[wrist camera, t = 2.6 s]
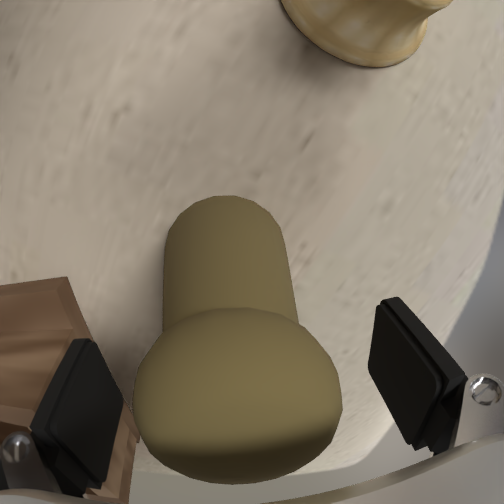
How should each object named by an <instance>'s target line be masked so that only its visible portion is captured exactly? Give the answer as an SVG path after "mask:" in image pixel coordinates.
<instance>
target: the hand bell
mask: <svg viewBox="0 0 504 504" xmlns="http://www.w3.org/2000/svg"><path fill="white" fill-rule="evenodd" d="M281 1H282V3H283V5H284V8H285V10H286V12H287V13H288V15H289V16H290V18H291V20H292V21H293V22H294V24H295V25H296V26H297V27H298V29H299V30H300V31H301V32H302V33H303V34H304V35H305V36H306V37H308V38H309V39H310V40H311V41H312V42H313V43H315V44H316V45H317V46H319V47H320V48H321V49H323V50H324V51H326V52H328V53H330V54H331V55H333V56H335V57H337V58H339V59H342V60H344V61H346V62H350V63H353V64H357V65H362V66H369V67H386V66H391V65H395V64H398V63H400V62H402V61H404V60H406V59H407V58H409V57H410V56H411V55H412V54H413V53H414V52H415V51H416V50H417V49H418V47H419V46H420V44H421V42H422V41H423V38H424V36H425V33H426V29H427V21H428V17H429V16H430V15H432V14H434V13H435V12H437V11H439V10H441V9H443V8H445V7H447V6H448V5H449V4H450V3H451V2H452V1H453V0H281Z"/></svg>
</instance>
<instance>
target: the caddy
mask: <svg viewBox="0 0 504 504" xmlns="http://www.w3.org/2000/svg"><path fill="white" fill-rule="evenodd" d="M78 338H90V339H91V340H92V342H94V341H93V339H92V337H91V334H90V332H89V330H88V328H87V325H86V323H85V321H84V318H83V316H82V314H81V311H80V309H79V306H78V304H77V301H76V299H75V296H74V294H73V291H72V289H71V286H70V283H69V281H68V278H67V277H60V278H52V279H45V280H38V281H30V282H23V283H16V284H8V285H1V286H0V447H1V444H2V442H3V440H4V439H5V438H6V437H7V436H8V435H10V434H11V433H13V432H16V431H24V432H27V433H28V434H31V431H32V430H31V429H30V428H29V426H30V424H31V422H32V420H33V417H34V415H35V413H36V411H37V409H38V407H39V404H40V402H41V400H42V398H43V396H44V394H45V392H46V390H47V388H48V386H49V384H50V382H51V380H52V378H53V376H54V374H55V372H56V370H57V368H58V366H59V364H60V362H61V361H62V359H63V357H64V355H65V353H66V351H67V349H68V348H69V346H70V344H71V342H72V341H73V339H78ZM123 401H124V399H123ZM139 440H140V433H139V431H138V429H137V426H136V424H135V422H134V416H133V414H132V413H131V411H130V409H129V407H128V406H127V404H126V402H125V401H124V404H123V409H122V413H121V417H120V421H119V425H118V429H117V433H116V438H115V442H114V446H113V451H112V456H111V460H110V465H109V470H108V475H107V479H106V481H105V482H102V487H101V490H99V489H93V488H87V487H86V492H85V493H86V494H87V496H88V498H89V499H90V500H96V501H103V502H110V503H118V504H128V502H129V493H130V484H131V477H132V469H133V462H134V455H135V448H136V443H139Z"/></svg>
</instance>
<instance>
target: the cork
mask: <svg viewBox="0 0 504 504" xmlns="http://www.w3.org/2000/svg"><path fill="white" fill-rule="evenodd" d="M132 405H133V415H134V422H135V424H136V426H137V429H138V431H139V433H140V435H141V437H142V439H143V441H144V443H145V445H146V446H147V448H148V450H149V452H150V453H151V454H152V455H153V456H154V457H155V458H156V459H157V460H159V461H160V462H161V463H162V464H163V465H165V466H167V467H168V468H170V469H172V470H174V471H177V472H179V473H181V474H183V475H185V476H187V477H190V478H193V479H197V480H201V481H205V482H209V483H218V484H231V485H233V484H249V483H257V482H262V481H267V480H272V479H276V478H279V477H281V476H284V475H287V474H289V473H292V472H294V471H296V470H298V469H299V468H301V467H303V466H304V465H306V464H308V463H309V462H311V461H312V460H313V459H315V458H316V457H318V456H319V455H320V454H321V453H322V452H323V451H324V450H325V449H326V447H327V446H328V445H329V444H330V443H331V442H332V439H333V437H334V434H335V432H336V429H337V426H338V423H339V420H340V417H341V414H342V410H343V408H342V396H341V388H340V383H339V377H338V373H337V370H336V368H335V366H334V364H333V362H332V360H331V358H330V356H329V355H328V354H327V352H326V351H325V350H324V349H323V347H322V346H321V345H320V344H319V342H318V341H317V340H316V339H315V338H314V337H313V336H312V335H311V334H310V333H309V332H308V331H307V329H306V328H305V327H303V326H301V325H299V323H298V316H297V310H296V304H295V298H294V292H293V287H292V281H291V275H290V269H289V264H288V258H287V252H286V247H285V243H284V239H283V236H282V232H281V229H280V227H279V225H278V224H277V222H276V221H275V220H274V218H273V217H272V215H271V214H270V213H269V212H268V211H267V210H265V209H264V208H262V207H261V206H259V205H258V204H257V203H255V202H254V201H251V200H247V199H244V198H241V197H237V196H213V197H210V198H207V199H204V200H201V201H198V202H196V203H194V204H193V205H191V206H190V207H189V208H187V209H186V210H185V211H184V212H182V213H181V214H180V215H179V216H178V218H177V219H176V221H175V222H174V224H173V225H172V227H171V228H170V230H169V233H168V237H167V241H166V245H165V256H164V280H163V333H162V334H161V335H160V337H159V338H158V339H157V341H156V342H155V344H154V345H153V346H152V348H151V349H150V351H149V352H148V354H147V355H146V356H145V358H144V359H143V361H142V362H141V364H140V365H139V369H138V372H137V376H136V380H135V385H134V393H133V401H132Z"/></svg>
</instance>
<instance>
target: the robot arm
mask: <svg viewBox="0 0 504 504" xmlns="http://www.w3.org/2000/svg"><path fill="white" fill-rule="evenodd" d="M368 370H369V373H370V375H371V377H372V379H373V381H374V383H375V385H376V386H377V388H378V390H379V392H380V394H381V396H382V398H383V399H384V401H385V403H386V405H387V407H388V409H389V411H390V413H391V415H392V416H393V418H394V420H395V422H396V424H397V426H398V428H399V430H400V432H401V434H402V436H403V438H404V440H405V442H406V443H407V444H408V445H410V444H412V446H413V448H414V450H415V451H416V450H419V449H421V448H423V447H426V446H428V448H429V450H430V451H431V453H430V457H429V458H428V459H426V460H424V461H421V462H419V463H416V464H414V465H411V466H409V467H406V468H403V469H401V470H398V471H395V472H392V473H389V474H387V475H384V476H381V477H378V478H375V479H371V480H368V481H365V482H362V483H359V484H355V485H351V486H348V487H344V488H341V489H337V490H333V491H328V492H324V493H320V494H315V495H311V496H305V497H300V498H295V499H289V500H284V501H277V502H269V503H262V504H504V385H503V383H502V382H501V381H500V380H499V379H497V378H496V377H494V376H492V375H489V374H477V375H474V376H472V377H471V378H469V379H468V378H467V376H466V375H465V373H464V371H463V370H462V369H461V368H460V366H459V365H458V364H457V363H456V361H455V360H454V359H453V358H452V357H451V355H450V354H449V353H448V352H447V351H446V350H445V348H444V347H443V346H442V345H441V344H440V342H439V341H438V340H437V339H436V338H435V337H434V336H433V334H432V333H431V332H430V331H429V330H428V329H427V328H426V326H425V325H424V324H423V323H422V322H421V321H420V320H419V318H418V317H417V316H416V315H415V314H414V313H413V312H412V311H411V310H410V309H409V307H408V306H407V305H406V304H405V303H404V302H403V301H402V300H401V299H400V298H399V297H393V298H389V299H384V300H382V301H381V303H380V305H378V306H377V307H376V313H375V321H374V328H373V335H372V342H371V348H370V355H369V360H368ZM123 404H124V401H123V396H122V394H121V392H120V391H119V389H118V387H117V385H116V383H115V381H114V379H113V377H112V375H111V373H110V371H109V369H108V367H107V365H106V363H105V361H104V359H103V357H102V354H101V352H100V350H99V348H98V346H97V344H96V343H95V342H92V340H91V339H90V338H78V339H73V341H72V342H71V344H70V346H69V348H68V349H67V351H66V353H65V355H64V357H63V359H62V361H61V362H60V364H59V366H58V368H57V370H56V372H55V374H54V376H53V378H52V380H51V382H50V384H49V386H48V388H47V390H46V392H45V394H44V396H43V398H42V400H41V402H40V404H39V407H38V409H37V411H36V413H35V415H34V417H33V420H32V422H31V424H30V426H29V428H30V429H31V430H32V431H31V434H28V433H27V432H24V431H16V432H13V433H11V434H10V435H8V436H7V437H6V438H5V439H4V440H3V442H2V444H1V447H0V504H118V503H110V502H103V501H96V500H90V499H89V498H88V496H87V494H86V493H85V492H86V487H87V488H93V489H99V490H101V487H102V482H105V481H106V479H107V475H108V470H109V465H110V460H111V456H112V451H113V446H114V442H115V438H116V433H117V429H118V425H119V421H120V417H121V413H122V409H123Z"/></svg>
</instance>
